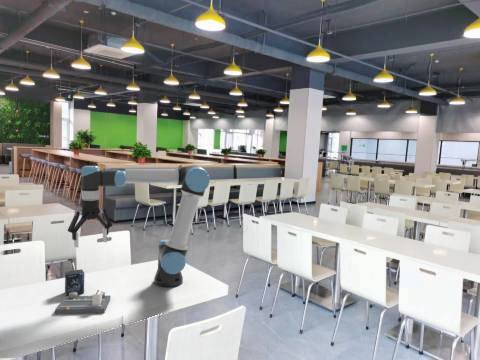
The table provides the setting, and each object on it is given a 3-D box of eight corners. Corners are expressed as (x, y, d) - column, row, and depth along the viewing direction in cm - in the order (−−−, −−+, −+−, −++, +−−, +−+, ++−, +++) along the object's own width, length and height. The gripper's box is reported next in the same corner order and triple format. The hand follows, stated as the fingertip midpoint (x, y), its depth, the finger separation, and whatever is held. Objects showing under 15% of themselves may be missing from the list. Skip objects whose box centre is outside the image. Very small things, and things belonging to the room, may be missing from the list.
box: (66, 296, 176) (66, 274, 176) (64, 292, 181) (64, 271, 180) (84, 293, 181) (84, 272, 180) (82, 289, 186) (82, 268, 185)
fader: (102, 300, 168) (102, 289, 168) (99, 305, 163) (99, 294, 163) (95, 300, 168) (95, 289, 167) (92, 305, 163) (92, 294, 162)
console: (110, 299, 175) (110, 291, 175) (104, 313, 161) (104, 304, 161) (65, 300, 172) (65, 291, 172) (54, 314, 158) (54, 305, 158)
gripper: (111, 196, 184) (112, 238, 186) (59, 200, 167) (60, 247, 169) (119, 198, 179) (119, 241, 181) (65, 202, 161) (66, 250, 163)
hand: (90, 244), depth 175 cm, fingers open, 13 cm apart
